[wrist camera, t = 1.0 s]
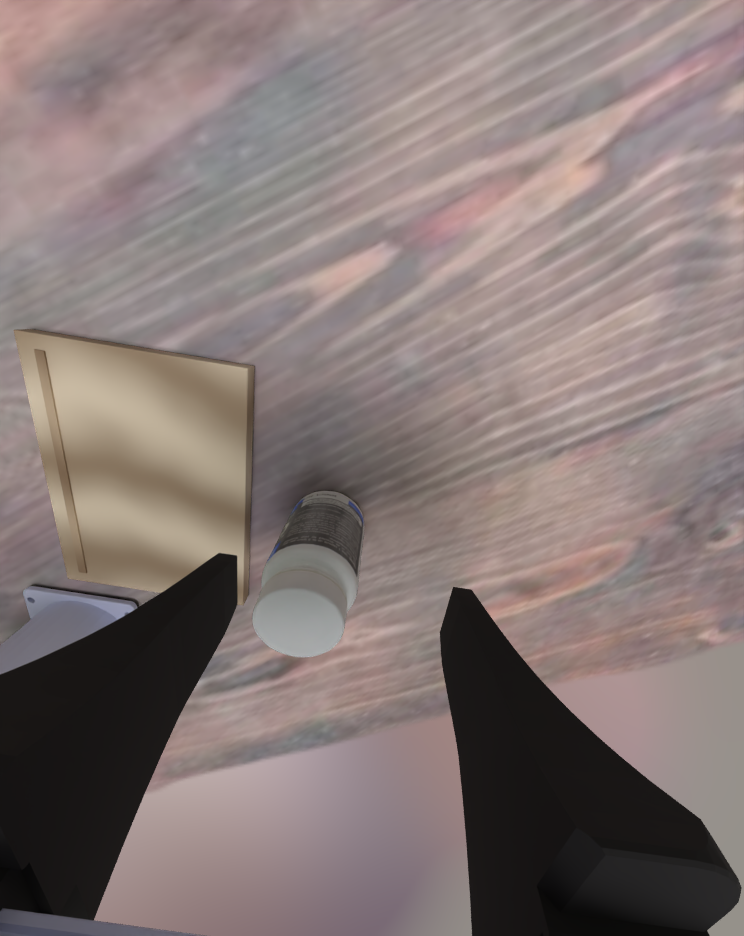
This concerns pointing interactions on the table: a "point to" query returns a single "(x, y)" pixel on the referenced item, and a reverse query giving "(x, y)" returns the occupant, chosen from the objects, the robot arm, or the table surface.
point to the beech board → (141, 457)
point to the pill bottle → (311, 576)
